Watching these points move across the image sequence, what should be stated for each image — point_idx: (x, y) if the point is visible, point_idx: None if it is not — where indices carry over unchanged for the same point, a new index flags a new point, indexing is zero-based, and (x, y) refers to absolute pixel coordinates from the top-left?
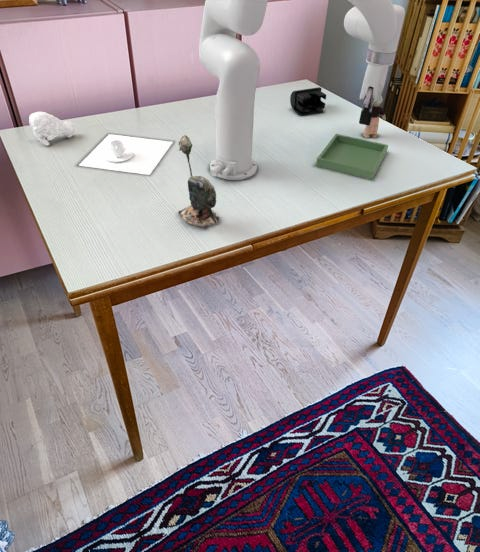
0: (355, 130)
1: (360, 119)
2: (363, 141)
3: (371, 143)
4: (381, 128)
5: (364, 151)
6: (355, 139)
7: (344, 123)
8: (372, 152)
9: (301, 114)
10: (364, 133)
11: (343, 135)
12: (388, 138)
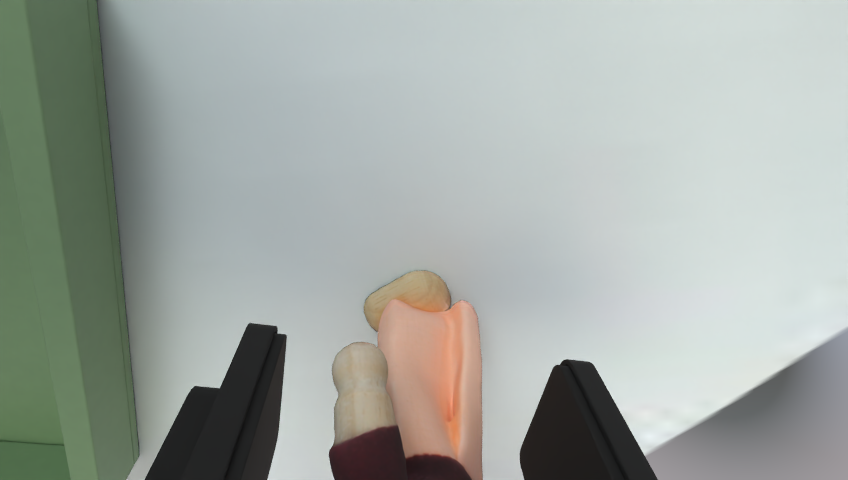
0: (512, 193)
1: (231, 371)
2: (50, 336)
3: (63, 402)
4: None
5: (8, 322)
6: (29, 256)
7: (691, 50)
8: (35, 382)
9: None
10: (409, 293)
11: (34, 95)
12: None
